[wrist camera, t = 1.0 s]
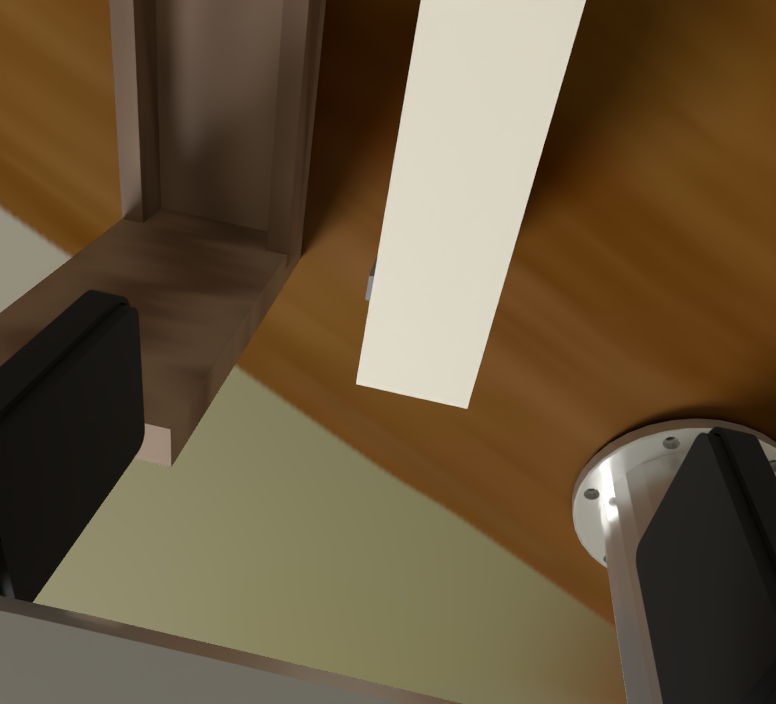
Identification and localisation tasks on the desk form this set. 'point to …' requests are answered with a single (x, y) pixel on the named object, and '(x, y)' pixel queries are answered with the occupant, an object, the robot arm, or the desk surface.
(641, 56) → the desk surface
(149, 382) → the door frame
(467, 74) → the door panel
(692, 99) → the desk surface
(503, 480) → the desk surface
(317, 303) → the desk surface
